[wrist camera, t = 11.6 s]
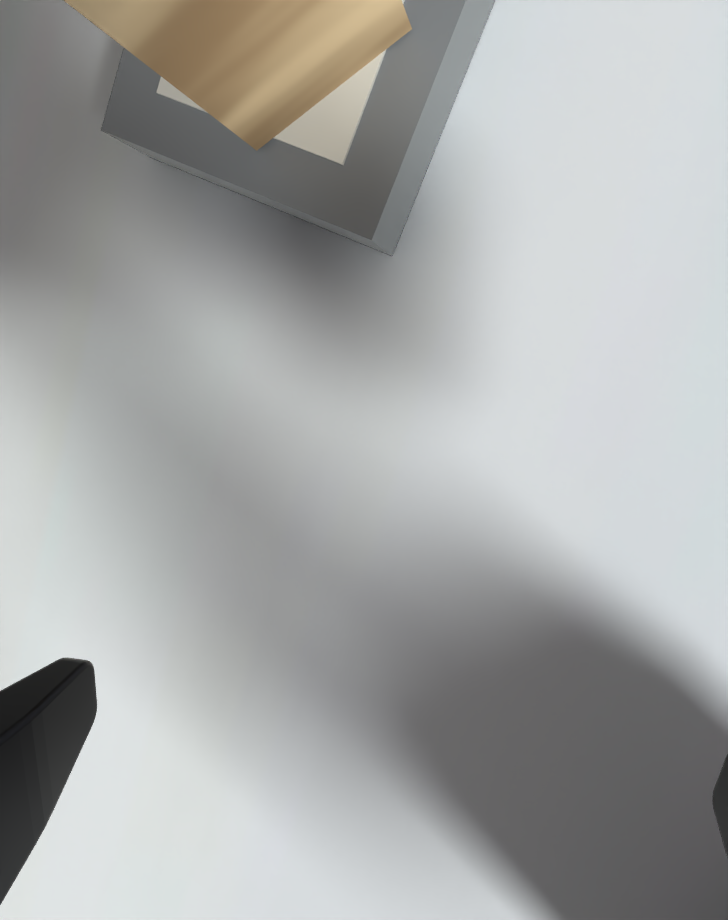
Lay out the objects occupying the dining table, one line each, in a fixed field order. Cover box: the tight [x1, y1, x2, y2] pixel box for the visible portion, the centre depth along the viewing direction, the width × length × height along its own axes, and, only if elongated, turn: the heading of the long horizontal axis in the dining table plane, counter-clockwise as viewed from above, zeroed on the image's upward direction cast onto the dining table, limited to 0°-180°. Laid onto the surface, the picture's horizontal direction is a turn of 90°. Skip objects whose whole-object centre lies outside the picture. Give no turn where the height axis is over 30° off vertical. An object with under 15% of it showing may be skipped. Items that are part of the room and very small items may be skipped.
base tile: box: [101, 0, 495, 256], centre depth 18 cm, size 9×9×3 cm
